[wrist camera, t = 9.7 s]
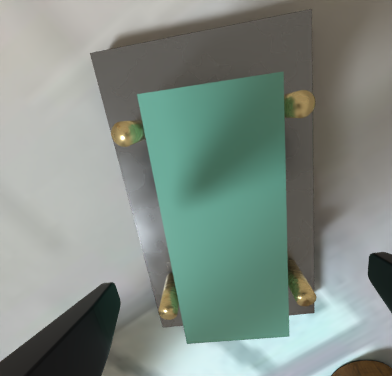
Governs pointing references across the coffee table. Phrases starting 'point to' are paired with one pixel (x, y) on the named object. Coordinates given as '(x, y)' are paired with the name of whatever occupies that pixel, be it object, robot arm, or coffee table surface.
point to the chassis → (201, 74)
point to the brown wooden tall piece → (364, 369)
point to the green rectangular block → (223, 203)
